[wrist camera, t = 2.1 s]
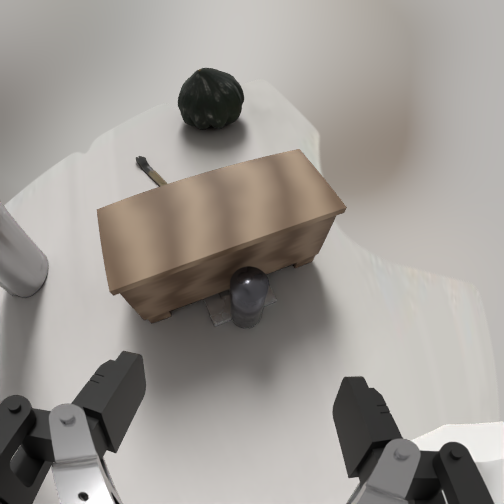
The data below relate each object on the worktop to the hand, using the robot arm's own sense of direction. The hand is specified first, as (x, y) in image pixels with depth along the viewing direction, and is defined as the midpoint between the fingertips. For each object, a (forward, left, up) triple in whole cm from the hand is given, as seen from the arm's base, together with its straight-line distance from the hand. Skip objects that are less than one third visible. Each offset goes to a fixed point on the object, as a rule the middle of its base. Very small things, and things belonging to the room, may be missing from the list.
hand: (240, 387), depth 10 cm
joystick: (+6, +14, -25) cm, 30 cm away
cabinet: (+6, +19, -25) cm, 32 cm away
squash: (+17, +55, -26) cm, 63 cm away
